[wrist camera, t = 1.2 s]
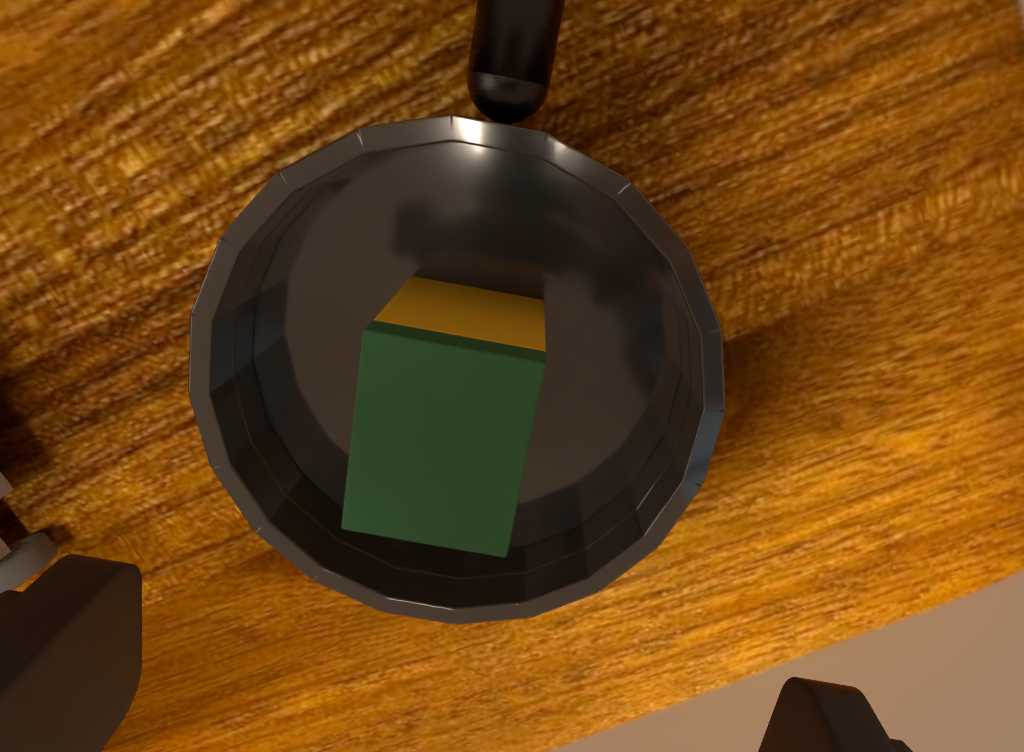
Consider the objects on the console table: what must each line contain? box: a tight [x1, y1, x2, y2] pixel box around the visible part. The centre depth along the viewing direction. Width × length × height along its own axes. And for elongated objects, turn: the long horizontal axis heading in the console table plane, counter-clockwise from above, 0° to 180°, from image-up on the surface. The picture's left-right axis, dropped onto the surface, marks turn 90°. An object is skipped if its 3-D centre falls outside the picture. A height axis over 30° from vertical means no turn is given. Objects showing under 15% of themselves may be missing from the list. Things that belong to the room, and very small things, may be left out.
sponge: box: [341, 276, 546, 557], centre depth 19 cm, size 5×4×6 cm
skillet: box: [188, 114, 726, 624], centre depth 20 cm, size 14×14×4 cm
